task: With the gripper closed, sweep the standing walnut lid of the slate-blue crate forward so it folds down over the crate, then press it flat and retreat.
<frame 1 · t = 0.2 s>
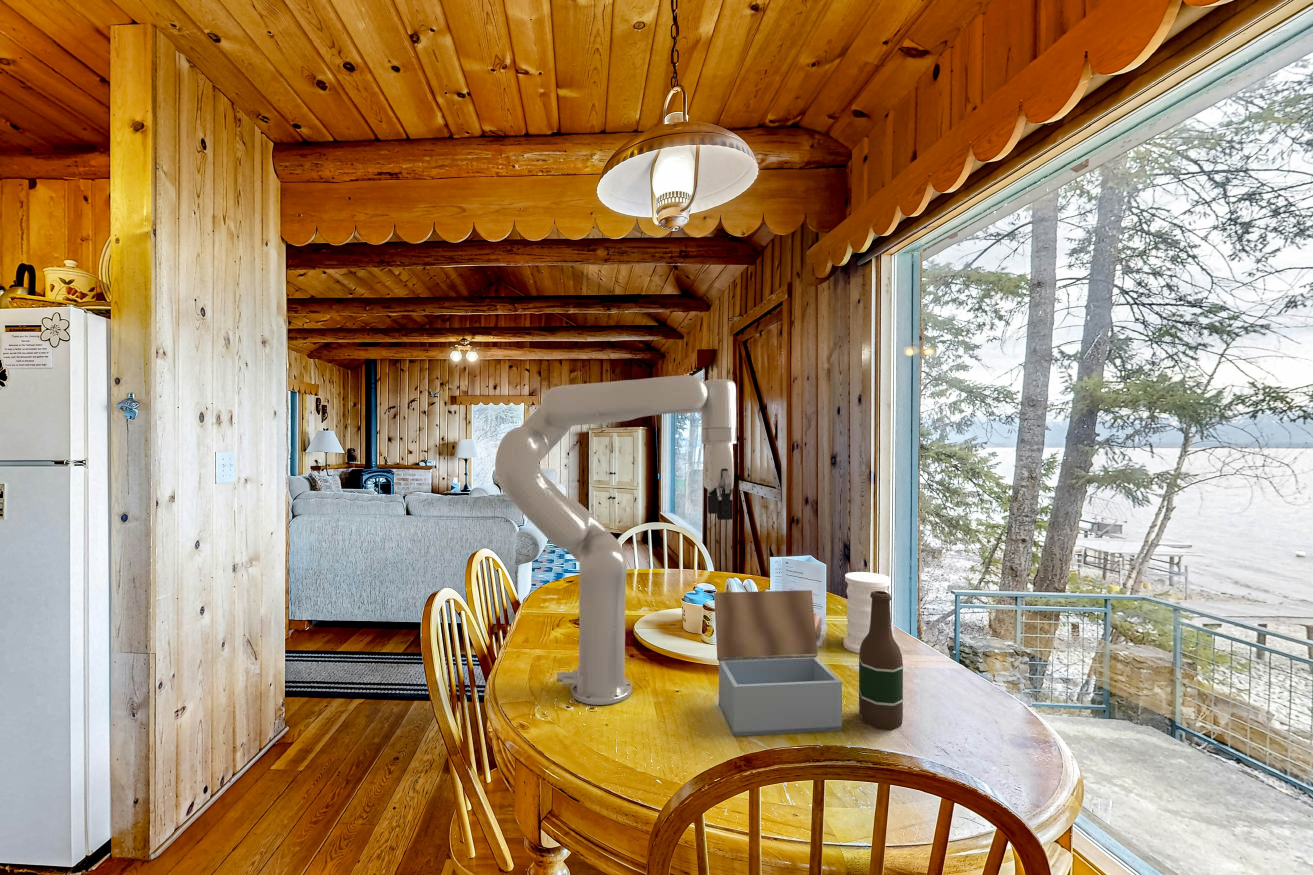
hand: (719, 516, 119), 36 cm above the table, tool pointing down, fingers open, 9 cm apart
decorative container: (867, 648, 142), on the table
lid: (765, 624, 113), point 15 cm above the table, hinge at 105.0°
crate: (777, 717, 105), on the table
beer bottle: (880, 721, 104), on the table
packaged product: (805, 636, 151), on the table
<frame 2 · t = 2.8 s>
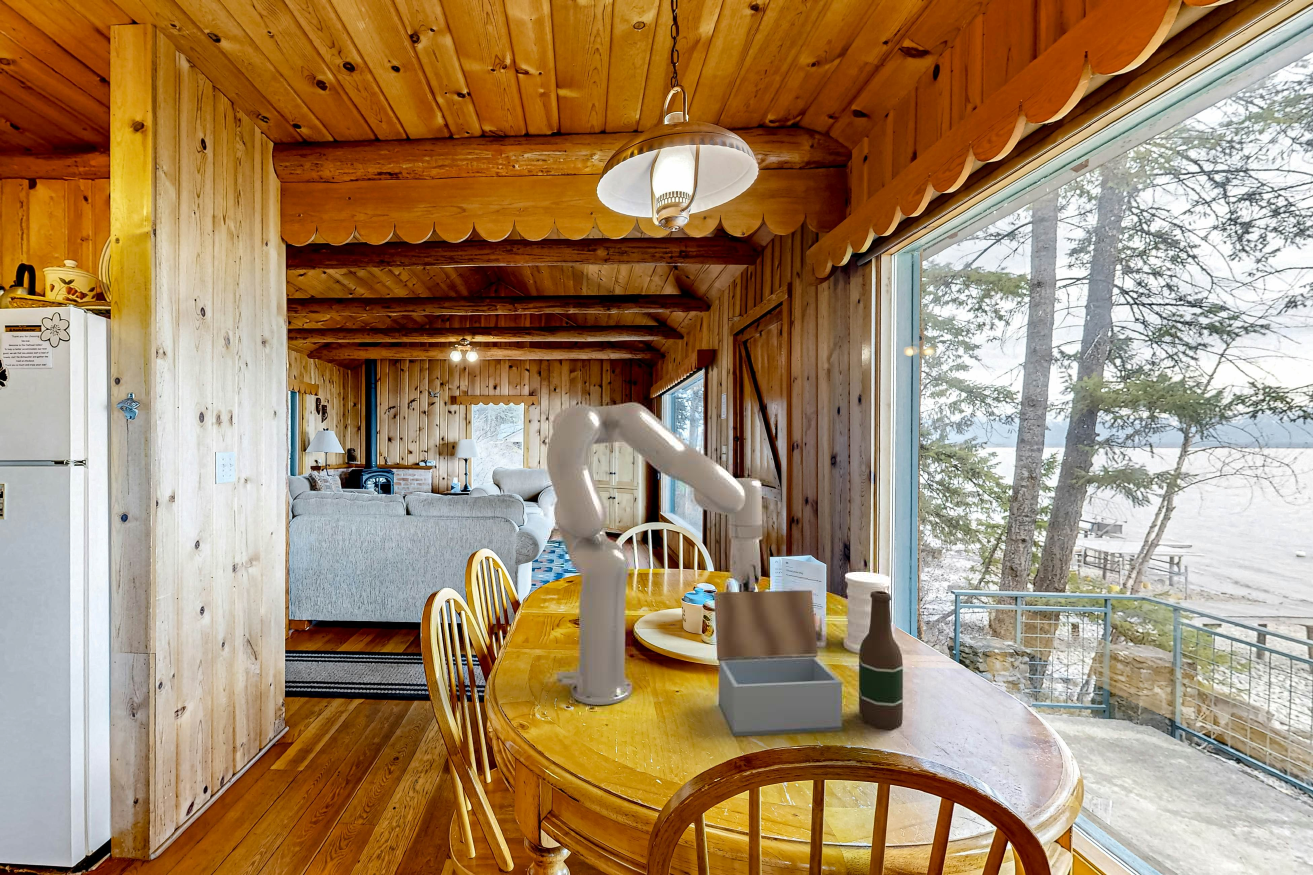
hand: (746, 610, 128), 13 cm above the table, tool pointing down, fingers closed
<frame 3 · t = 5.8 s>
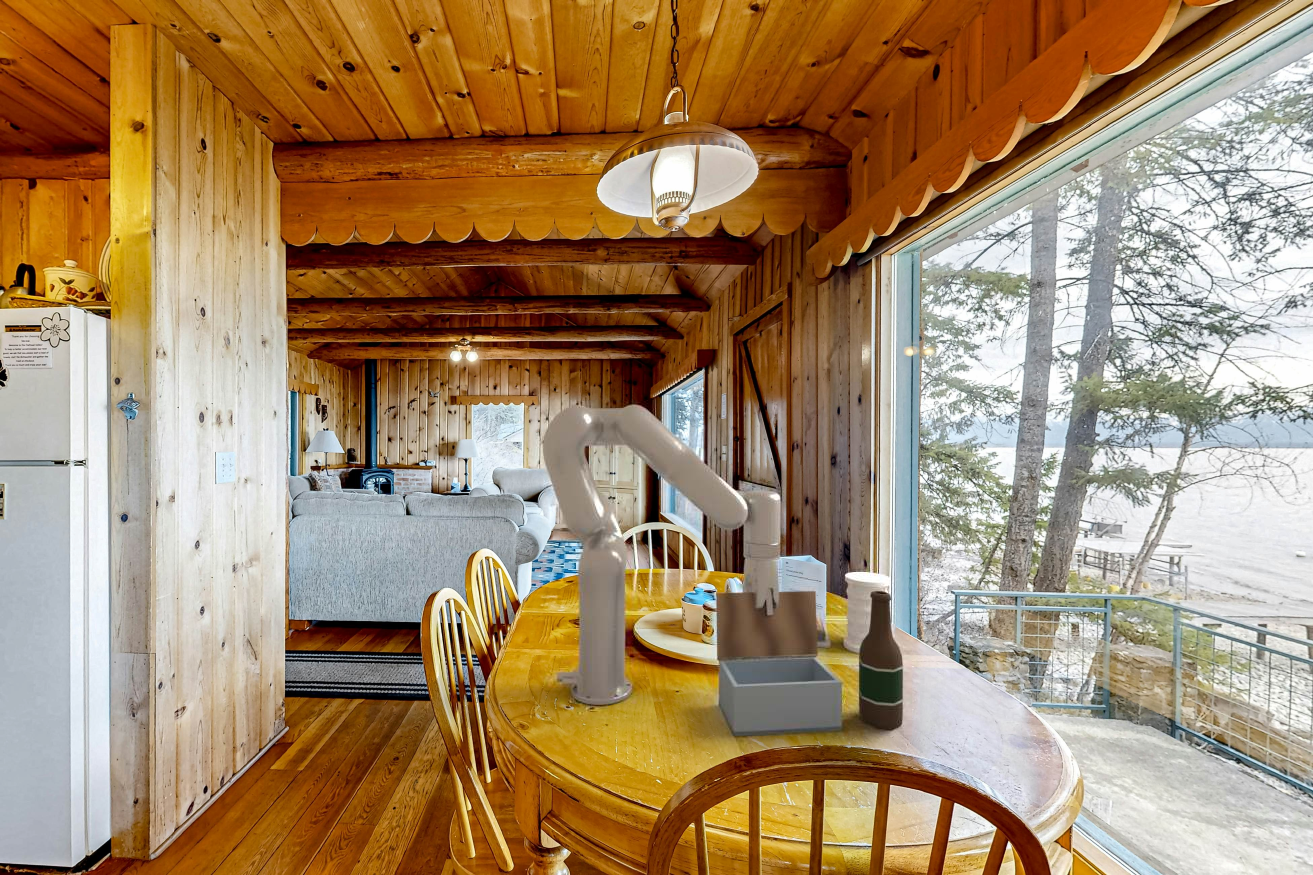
hand: (761, 638, 116), 11 cm above the table, tool pointing down, fingers closed
lid: (767, 624, 112), point 15 cm above the table, hinge at 95.6°, touching gripper
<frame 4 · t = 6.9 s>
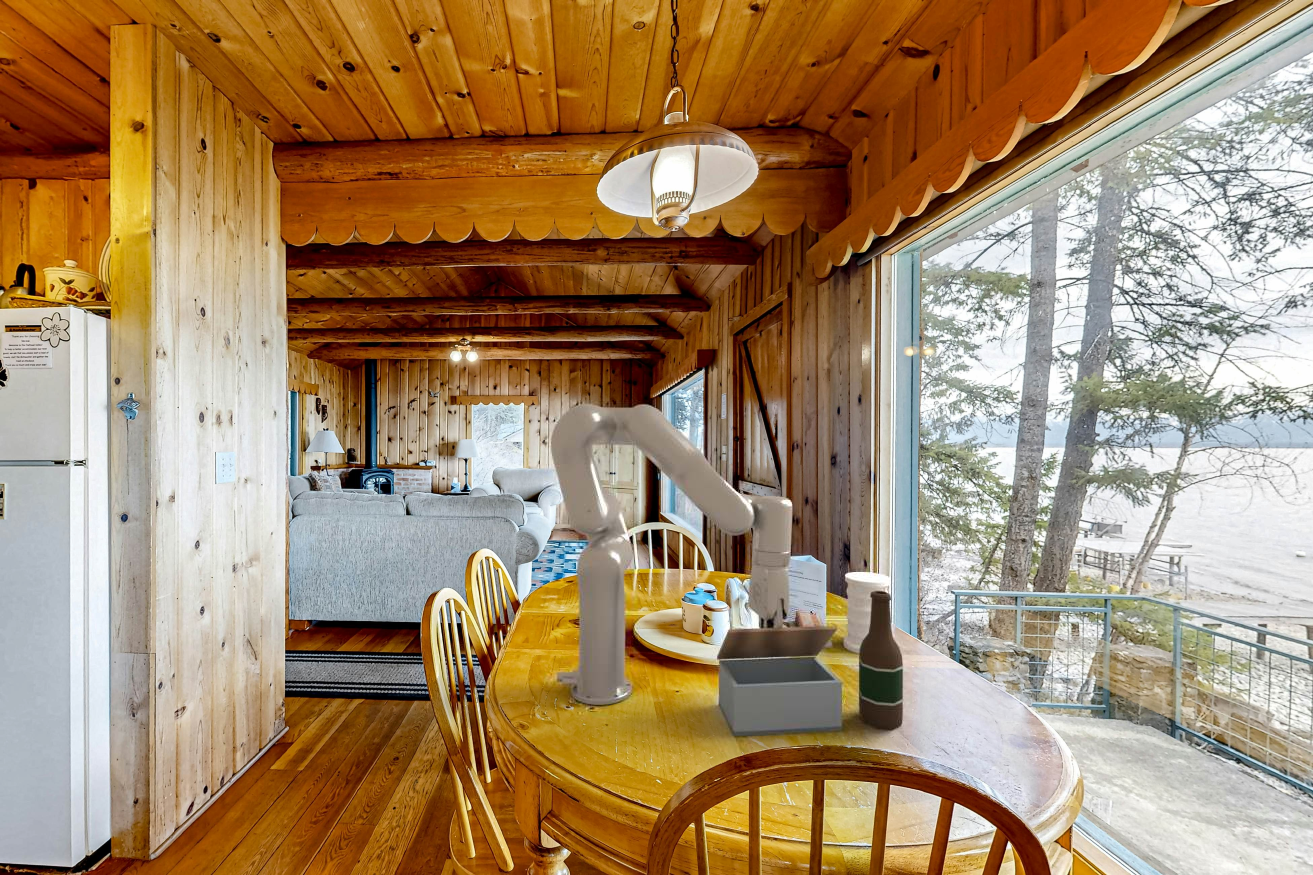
hand: (767, 649, 111), 11 cm above the table, tool pointing down, fingers closed
lid: (775, 643, 107), point 13 cm above the table, hinge at 42.1°, touching gripper
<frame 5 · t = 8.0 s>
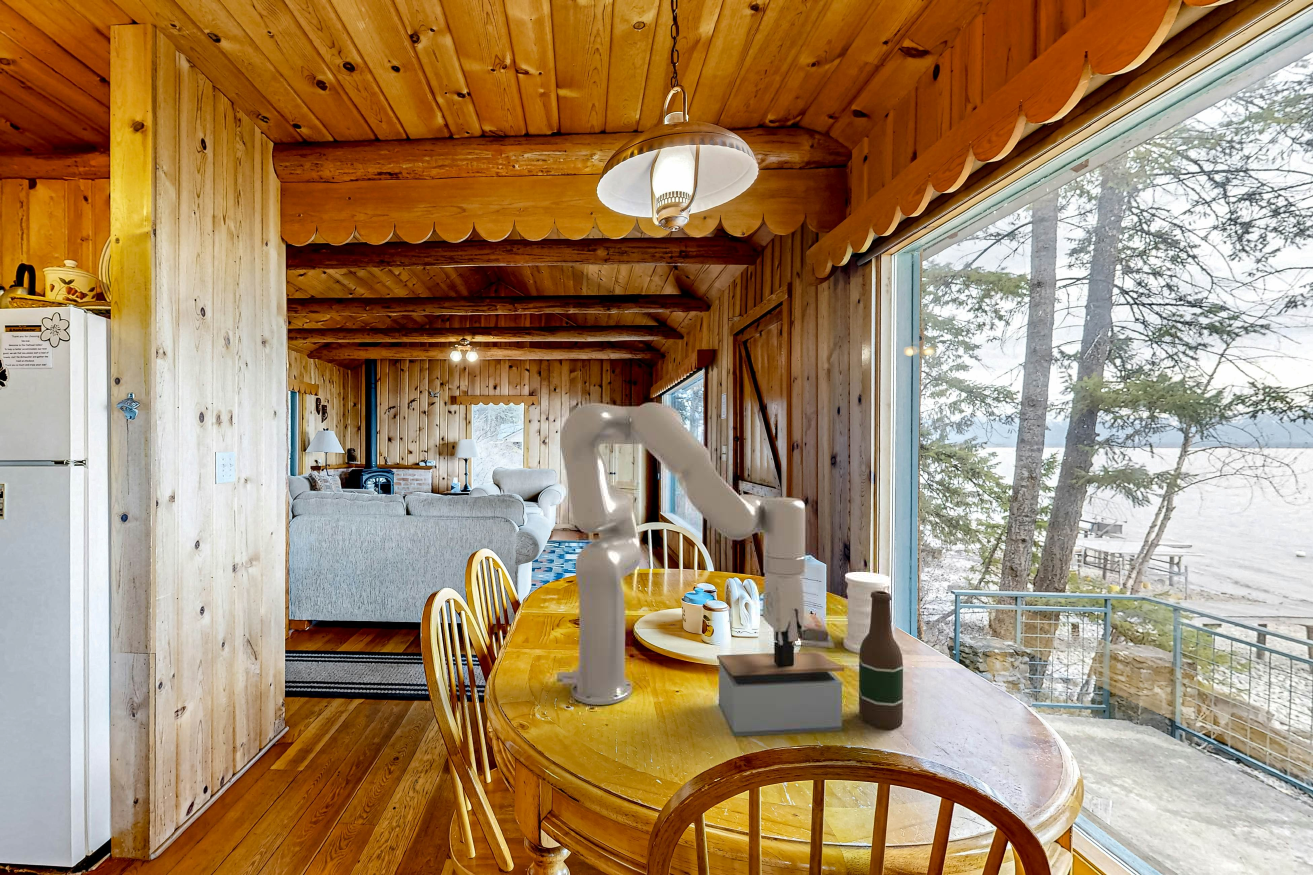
hand: (784, 664, 102), 11 cm above the table, tool pointing down, fingers closed
lid: (777, 662, 105), point 10 cm above the table, hinge at 8.3°
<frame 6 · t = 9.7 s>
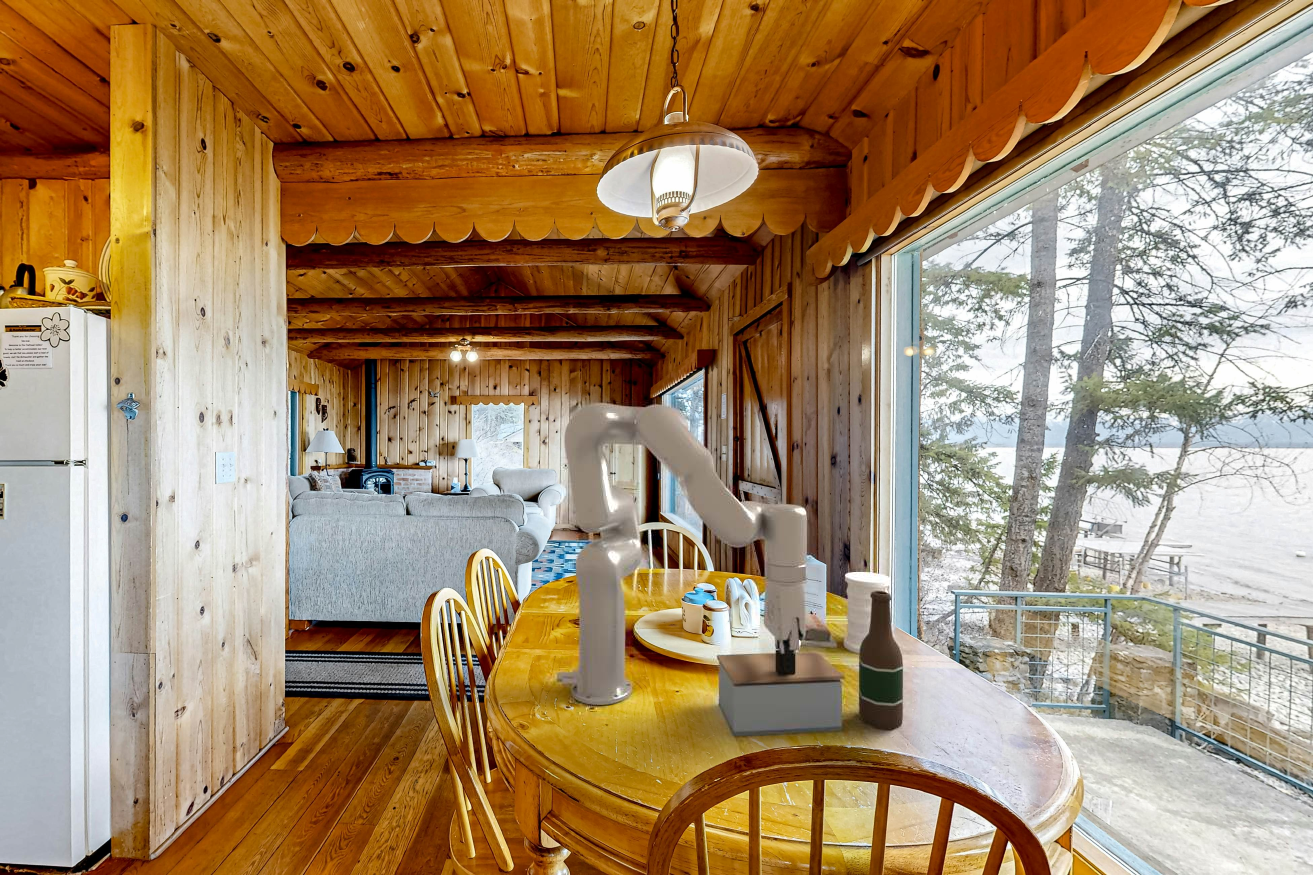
hand: (785, 672, 101), 10 cm above the table, tool pointing down, fingers closed
lid: (777, 666, 105), point 10 cm above the table, hinge at 1.6°, touching gripper
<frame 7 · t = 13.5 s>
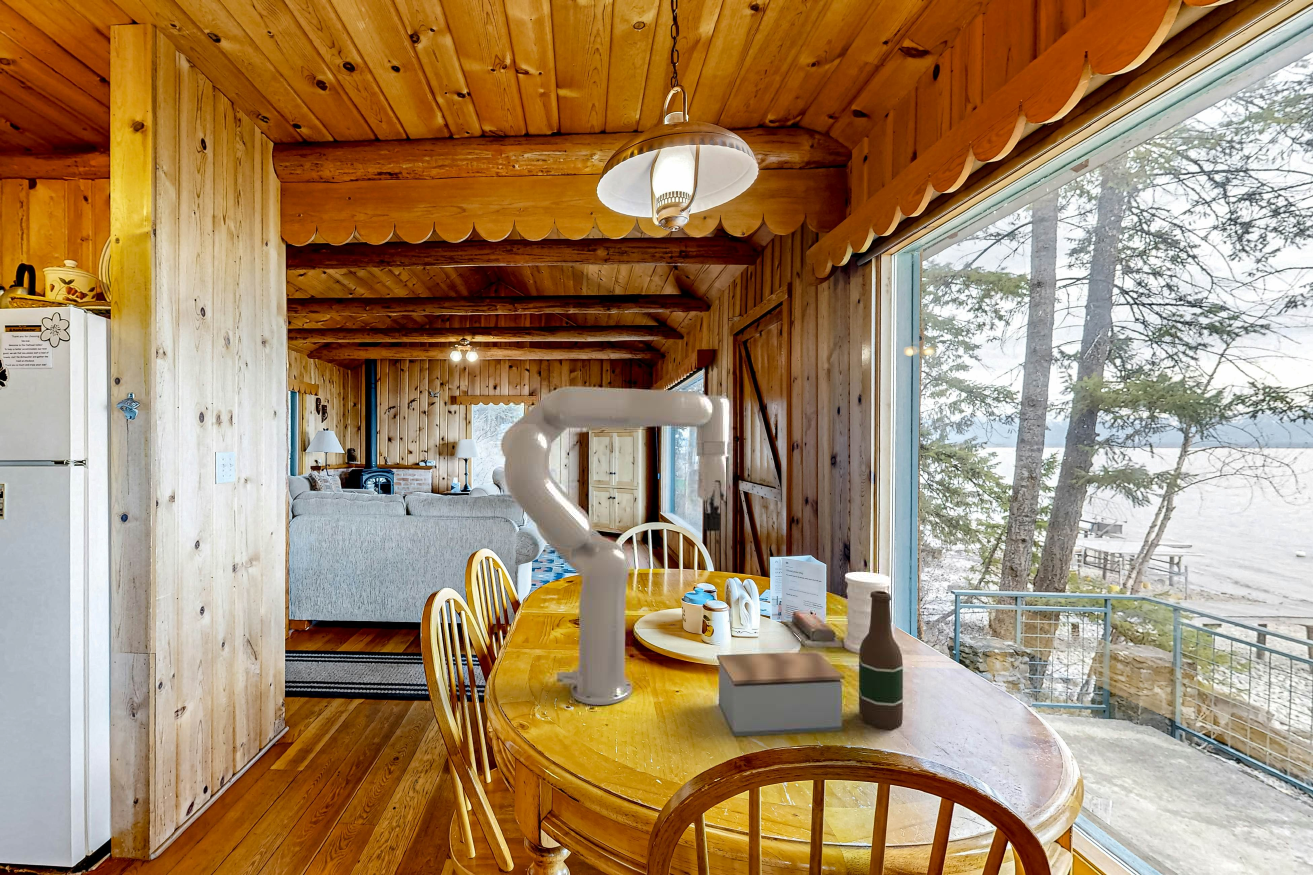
hand: (712, 530, 127), 32 cm above the table, tool pointing down, fingers closed
lid: (777, 666, 105), point 10 cm above the table, hinge at 1.6°
at the end: lid at +2° (first picture: +105°) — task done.
